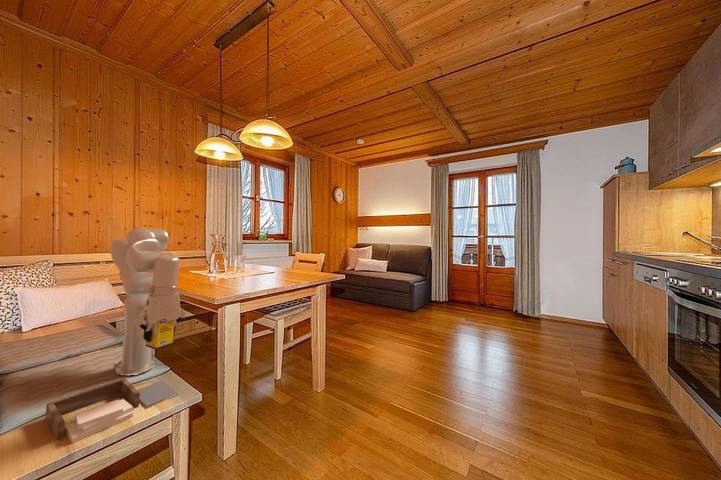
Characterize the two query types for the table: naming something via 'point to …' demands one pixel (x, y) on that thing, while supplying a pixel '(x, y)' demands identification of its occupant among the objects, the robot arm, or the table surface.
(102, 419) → the offcut stack
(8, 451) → the table surface
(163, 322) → the supplement box
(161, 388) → the rubber mat
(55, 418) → the brown wooden tray
